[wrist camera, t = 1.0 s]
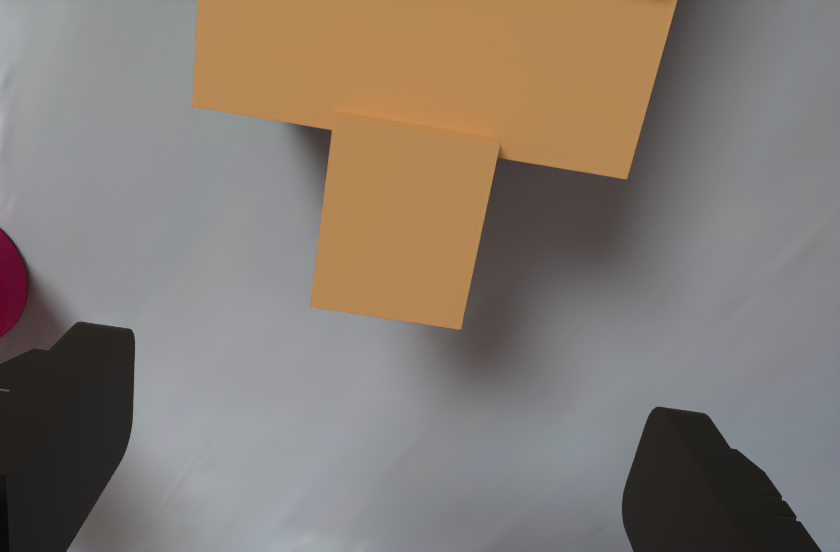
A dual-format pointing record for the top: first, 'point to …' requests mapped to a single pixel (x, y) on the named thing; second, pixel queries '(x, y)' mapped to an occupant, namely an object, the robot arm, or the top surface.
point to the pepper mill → (11, 285)
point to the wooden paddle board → (430, 119)
